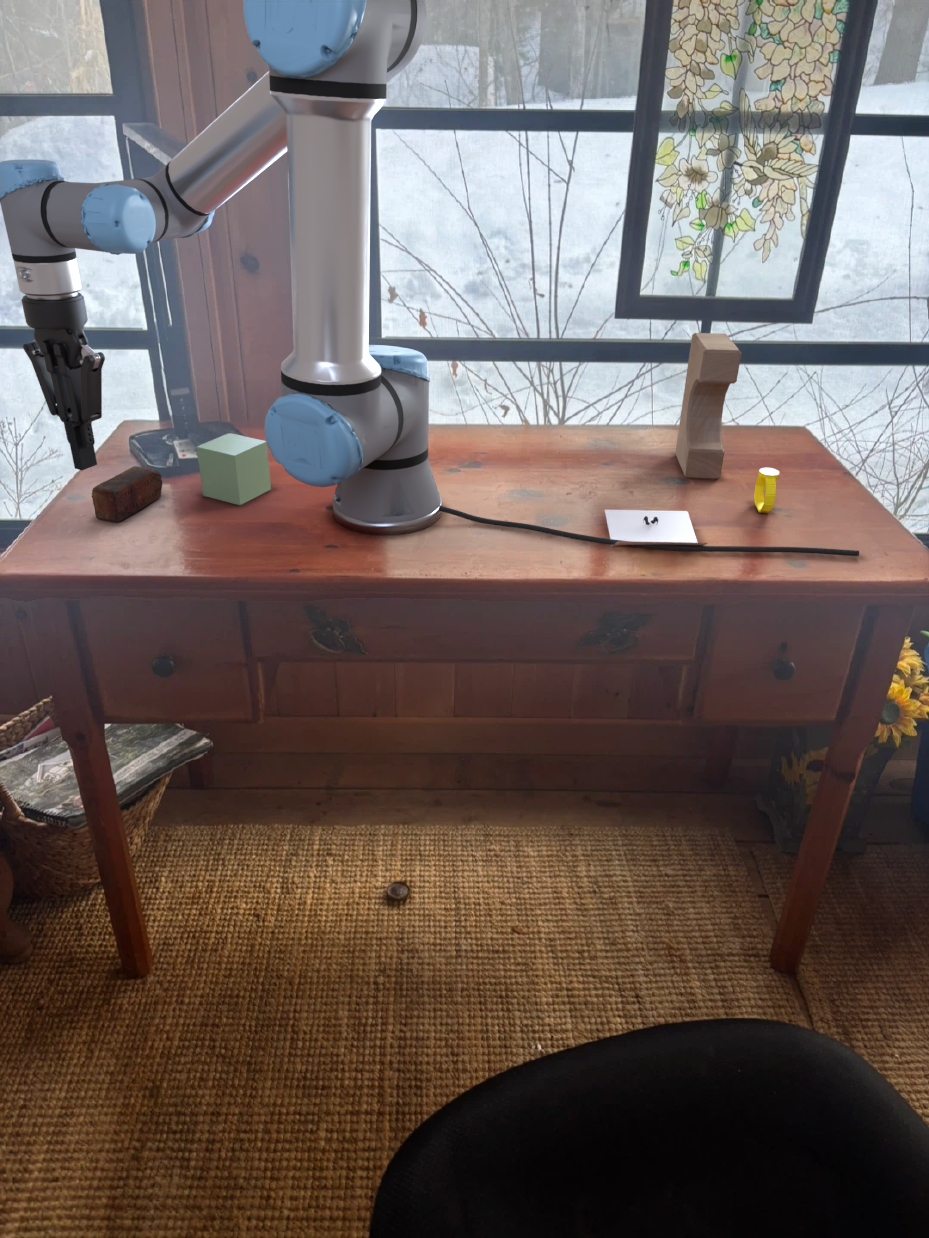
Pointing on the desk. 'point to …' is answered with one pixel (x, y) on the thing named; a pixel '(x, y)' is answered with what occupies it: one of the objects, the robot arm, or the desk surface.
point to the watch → (768, 478)
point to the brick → (126, 493)
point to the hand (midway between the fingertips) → (86, 466)
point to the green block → (234, 468)
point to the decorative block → (705, 404)
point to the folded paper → (651, 527)
